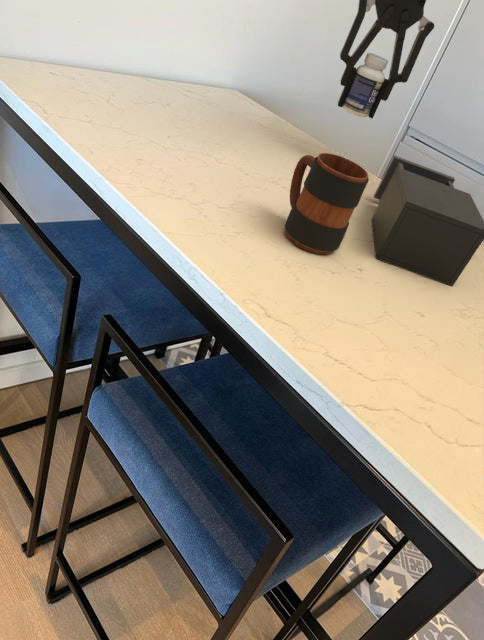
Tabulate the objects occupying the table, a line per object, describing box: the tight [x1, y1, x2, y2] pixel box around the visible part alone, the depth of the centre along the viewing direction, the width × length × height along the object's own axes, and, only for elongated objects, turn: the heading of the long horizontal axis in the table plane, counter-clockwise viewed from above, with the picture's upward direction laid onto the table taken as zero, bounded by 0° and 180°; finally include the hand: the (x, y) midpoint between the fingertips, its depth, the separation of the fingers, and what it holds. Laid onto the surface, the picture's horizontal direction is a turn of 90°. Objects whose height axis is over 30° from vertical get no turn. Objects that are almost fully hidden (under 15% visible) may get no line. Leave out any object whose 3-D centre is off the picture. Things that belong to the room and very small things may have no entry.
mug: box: [284, 152, 370, 255], centre depth 81 cm, size 9×12×12 cm
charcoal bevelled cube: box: [370, 167, 484, 287], centre depth 89 cm, size 15×13×10 cm
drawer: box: [373, 155, 456, 203], centre depth 99 cm, size 18×11×8 cm, turn 170°
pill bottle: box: [341, 52, 389, 118], centre depth 104 cm, size 5×5×10 cm
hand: (355, 110), depth 107 cm, fingers closed on pill bottle, 5 cm apart
